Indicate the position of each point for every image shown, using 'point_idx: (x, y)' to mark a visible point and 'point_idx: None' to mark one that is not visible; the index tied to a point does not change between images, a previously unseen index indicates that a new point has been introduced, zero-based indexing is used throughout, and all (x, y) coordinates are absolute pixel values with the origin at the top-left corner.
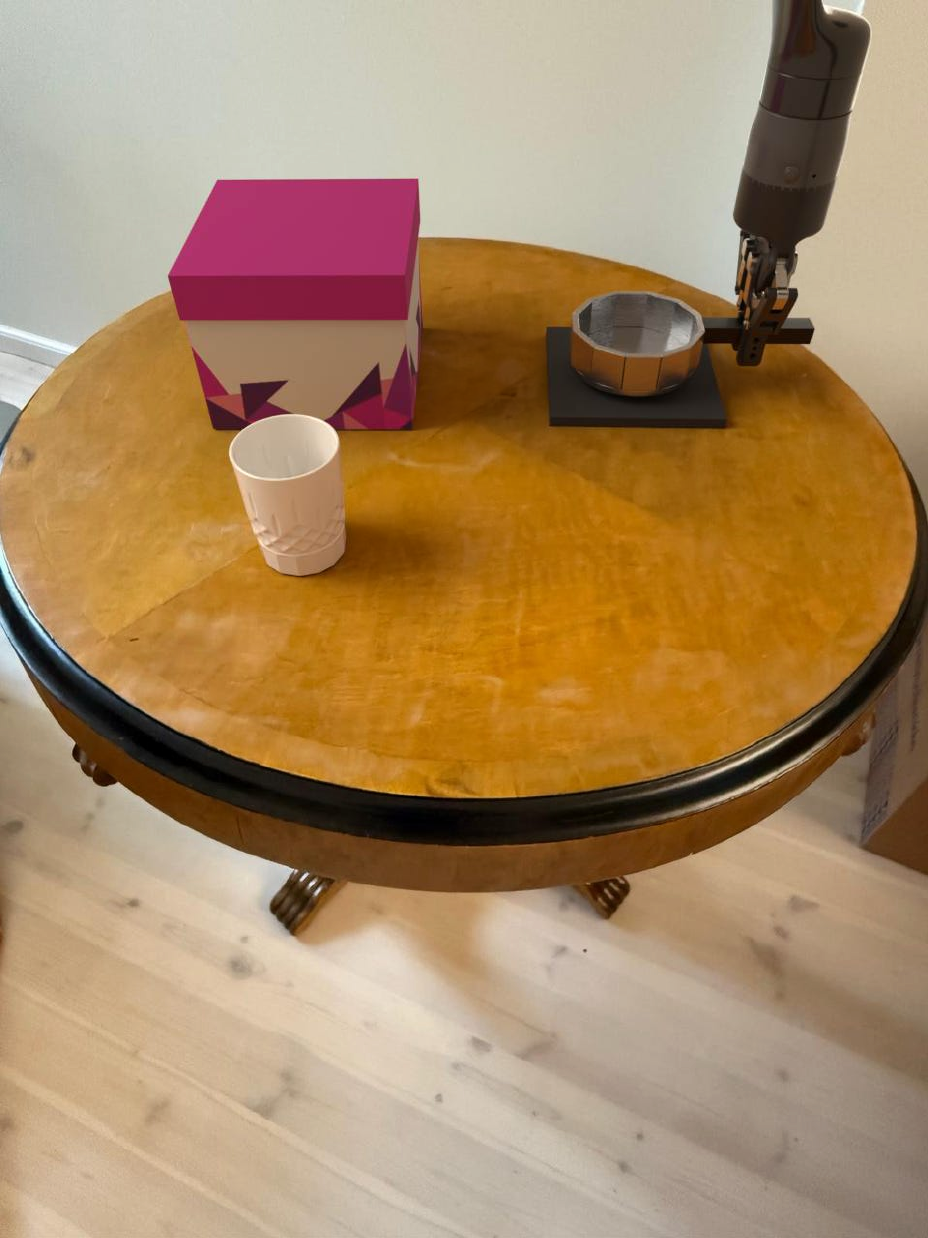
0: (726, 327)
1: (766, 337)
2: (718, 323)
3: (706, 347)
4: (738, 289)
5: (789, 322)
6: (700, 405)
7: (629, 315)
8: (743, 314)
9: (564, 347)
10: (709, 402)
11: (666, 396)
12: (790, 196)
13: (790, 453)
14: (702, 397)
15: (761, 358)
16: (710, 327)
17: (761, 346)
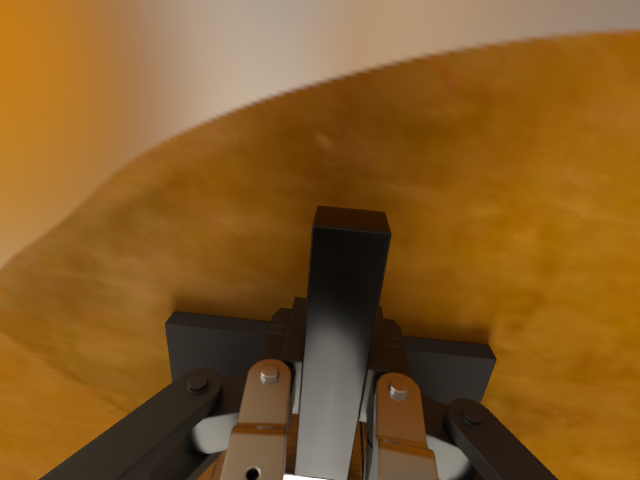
0: (349, 444)
1: (388, 355)
2: (327, 453)
3: (241, 333)
4: (221, 452)
5: (339, 298)
6: (443, 387)
7: None
8: (294, 405)
9: None
10: (436, 373)
11: None
12: None
13: (605, 259)
14: (417, 378)
15: (381, 313)
16: (346, 471)
17: (405, 358)
